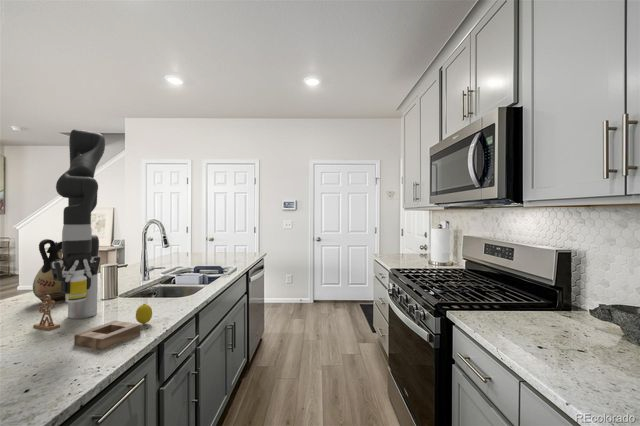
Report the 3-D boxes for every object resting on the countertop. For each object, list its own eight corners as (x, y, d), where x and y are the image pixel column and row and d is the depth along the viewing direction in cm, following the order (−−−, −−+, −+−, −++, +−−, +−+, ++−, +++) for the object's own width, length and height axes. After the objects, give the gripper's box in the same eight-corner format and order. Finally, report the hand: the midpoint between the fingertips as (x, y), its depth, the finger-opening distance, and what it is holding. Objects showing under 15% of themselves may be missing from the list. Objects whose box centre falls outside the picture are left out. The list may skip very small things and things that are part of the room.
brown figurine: (32, 327, 116) (33, 295, 116) (44, 324, 120) (45, 292, 120) (48, 330, 113) (49, 297, 113) (60, 327, 117) (61, 294, 117)
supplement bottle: (90, 299, 103) (91, 269, 103) (72, 303, 97) (72, 272, 97) (79, 297, 104) (79, 268, 104) (61, 301, 99) (61, 270, 99)
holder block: (74, 345, 101) (74, 334, 101) (114, 330, 114) (114, 320, 114) (101, 350, 97) (102, 339, 97) (140, 334, 110) (140, 324, 110)
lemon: (144, 327, 117) (145, 306, 117) (132, 326, 118) (132, 305, 118) (155, 322, 122) (155, 302, 122) (143, 321, 123) (143, 301, 123)
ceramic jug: (55, 296, 158) (56, 237, 158) (82, 298, 156) (83, 237, 156) (18, 306, 141) (20, 239, 141) (48, 308, 139) (49, 240, 139)
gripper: (91, 236, 109) (90, 285, 109) (43, 239, 95) (42, 295, 95) (107, 237, 107) (106, 287, 106) (60, 240, 93) (59, 298, 93)
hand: (76, 291), depth 101 cm, fingers closed on supplement bottle, 5 cm apart
